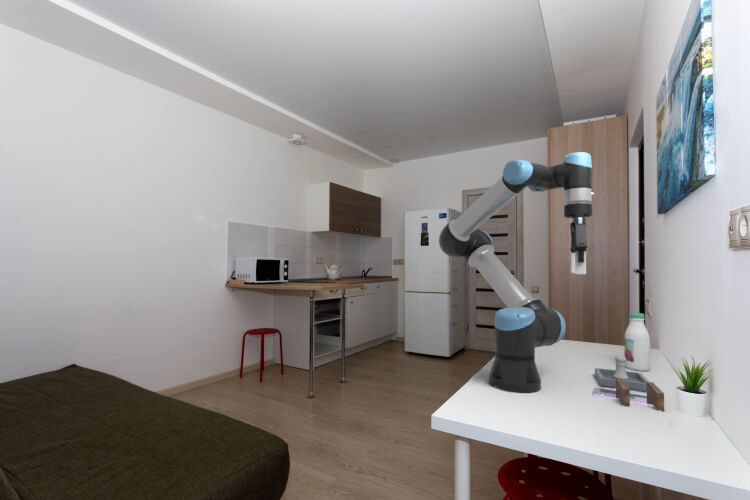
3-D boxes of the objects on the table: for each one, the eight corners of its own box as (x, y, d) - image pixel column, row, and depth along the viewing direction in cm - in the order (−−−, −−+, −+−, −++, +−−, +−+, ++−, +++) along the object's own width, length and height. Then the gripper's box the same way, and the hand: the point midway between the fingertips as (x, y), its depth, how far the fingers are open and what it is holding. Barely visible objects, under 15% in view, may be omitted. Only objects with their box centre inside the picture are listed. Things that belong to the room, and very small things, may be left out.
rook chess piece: (631, 384, 117) (631, 358, 117) (615, 383, 118) (615, 357, 118) (625, 379, 121) (625, 354, 121) (610, 378, 122) (609, 353, 122)
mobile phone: (655, 405, 99) (590, 392, 108) (655, 408, 99) (590, 396, 108) (655, 397, 106) (594, 386, 114) (655, 400, 106) (594, 389, 114)
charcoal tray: (600, 386, 116) (600, 378, 116) (594, 375, 128) (594, 367, 128) (651, 392, 111) (651, 384, 111) (640, 380, 123) (640, 372, 123)
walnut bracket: (623, 405, 100) (622, 388, 101) (615, 393, 110) (615, 378, 110) (664, 411, 97) (664, 393, 97) (653, 398, 106) (652, 382, 106)
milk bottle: (649, 367, 138) (648, 313, 139) (651, 372, 131) (650, 315, 132) (624, 364, 142) (623, 311, 143) (624, 369, 136) (624, 313, 136)
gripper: (598, 196, 102) (598, 274, 102) (586, 209, 125) (587, 273, 124) (567, 198, 105) (567, 274, 104) (561, 210, 128) (561, 272, 127)
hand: (578, 273), depth 114 cm, fingers open, 13 cm apart
